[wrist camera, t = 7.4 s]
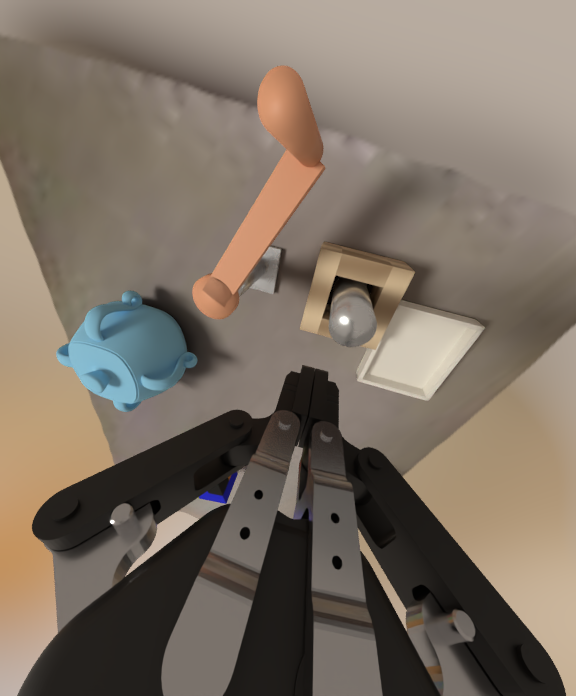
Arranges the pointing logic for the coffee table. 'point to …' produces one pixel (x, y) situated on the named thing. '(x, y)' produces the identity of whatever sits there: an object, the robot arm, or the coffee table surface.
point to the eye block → (361, 267)
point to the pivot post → (264, 272)
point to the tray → (418, 350)
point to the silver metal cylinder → (351, 313)
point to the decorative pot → (127, 352)
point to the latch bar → (268, 190)
